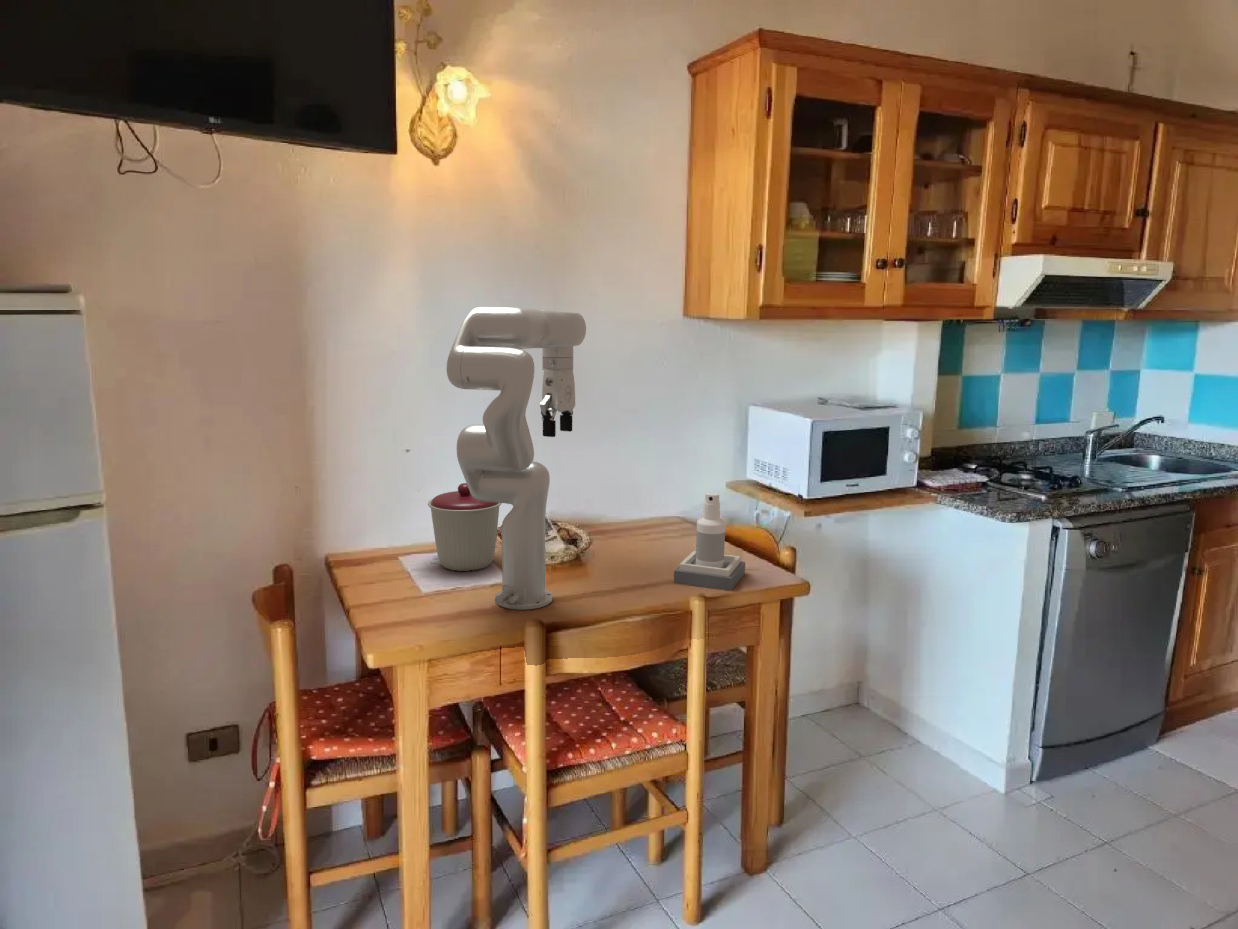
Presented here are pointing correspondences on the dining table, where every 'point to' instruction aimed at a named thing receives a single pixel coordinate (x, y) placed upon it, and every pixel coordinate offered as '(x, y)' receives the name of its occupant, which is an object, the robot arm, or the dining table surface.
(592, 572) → the dining table surface
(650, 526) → the dining table surface
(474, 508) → the canister
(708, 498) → the spray bottle
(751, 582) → the dining table surface
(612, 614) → the dining table surface
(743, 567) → the stand
